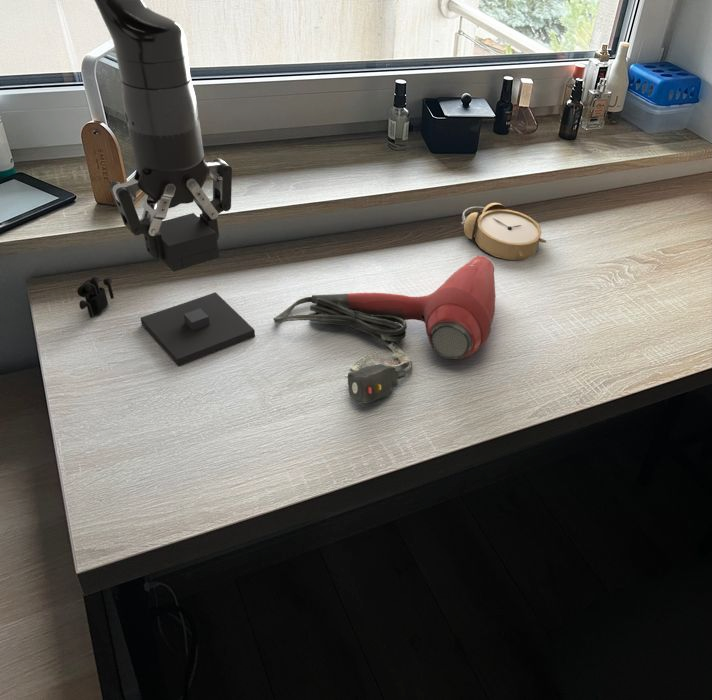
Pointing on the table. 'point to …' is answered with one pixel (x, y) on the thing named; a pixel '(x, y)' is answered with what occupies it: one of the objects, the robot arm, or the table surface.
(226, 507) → the table surface
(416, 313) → the hair dryer
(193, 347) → the base pad
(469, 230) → the alarm clock
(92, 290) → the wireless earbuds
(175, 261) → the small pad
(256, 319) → the table surface
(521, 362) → the table surface
